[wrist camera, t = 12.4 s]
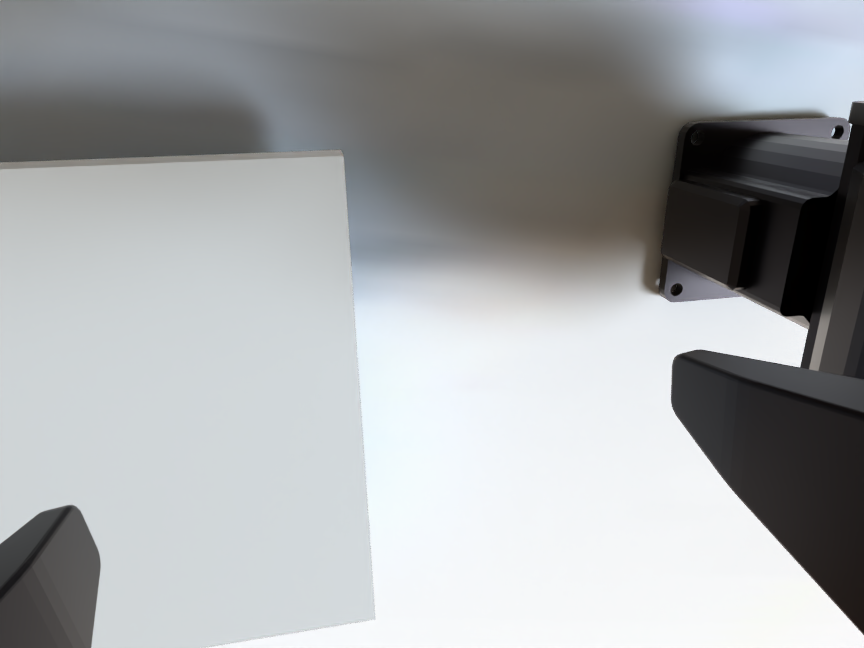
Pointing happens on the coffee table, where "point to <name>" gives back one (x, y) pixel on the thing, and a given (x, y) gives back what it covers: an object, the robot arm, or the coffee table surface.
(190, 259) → the caster cart
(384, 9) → the coffee table surface
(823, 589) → the robot arm
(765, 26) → the coffee table surface
